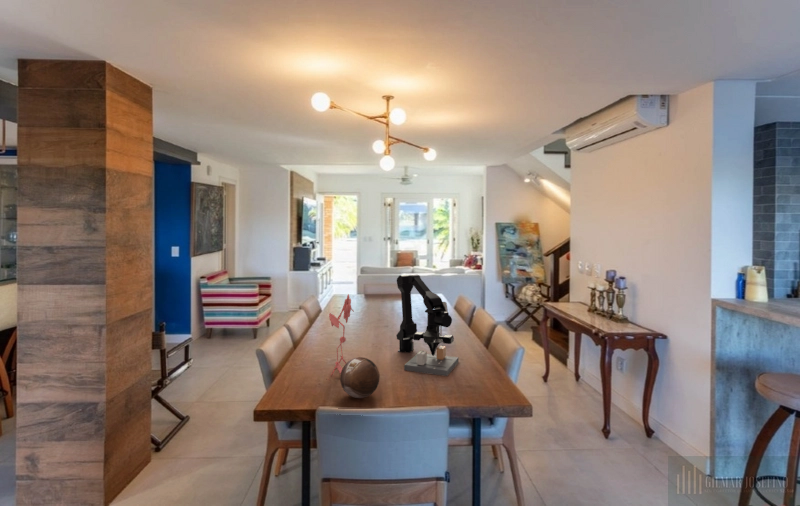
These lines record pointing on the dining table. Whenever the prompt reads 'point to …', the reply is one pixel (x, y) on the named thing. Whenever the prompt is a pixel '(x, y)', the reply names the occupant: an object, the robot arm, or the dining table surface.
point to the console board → (433, 365)
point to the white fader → (421, 357)
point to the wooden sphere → (359, 377)
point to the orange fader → (441, 352)
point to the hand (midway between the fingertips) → (433, 355)
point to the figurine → (336, 322)
